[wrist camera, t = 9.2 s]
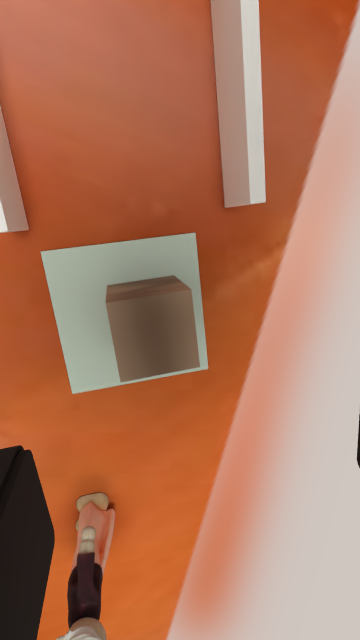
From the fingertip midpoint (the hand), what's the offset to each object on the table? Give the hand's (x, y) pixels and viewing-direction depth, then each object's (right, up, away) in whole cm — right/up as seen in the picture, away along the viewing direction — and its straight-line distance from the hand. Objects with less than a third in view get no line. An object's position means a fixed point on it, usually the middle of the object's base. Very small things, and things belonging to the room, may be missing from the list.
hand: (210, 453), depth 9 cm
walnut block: (-3, +4, +17) cm, 18 cm away
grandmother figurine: (-9, -13, +21) cm, 26 cm away
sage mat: (-4, +4, +17) cm, 18 cm away
